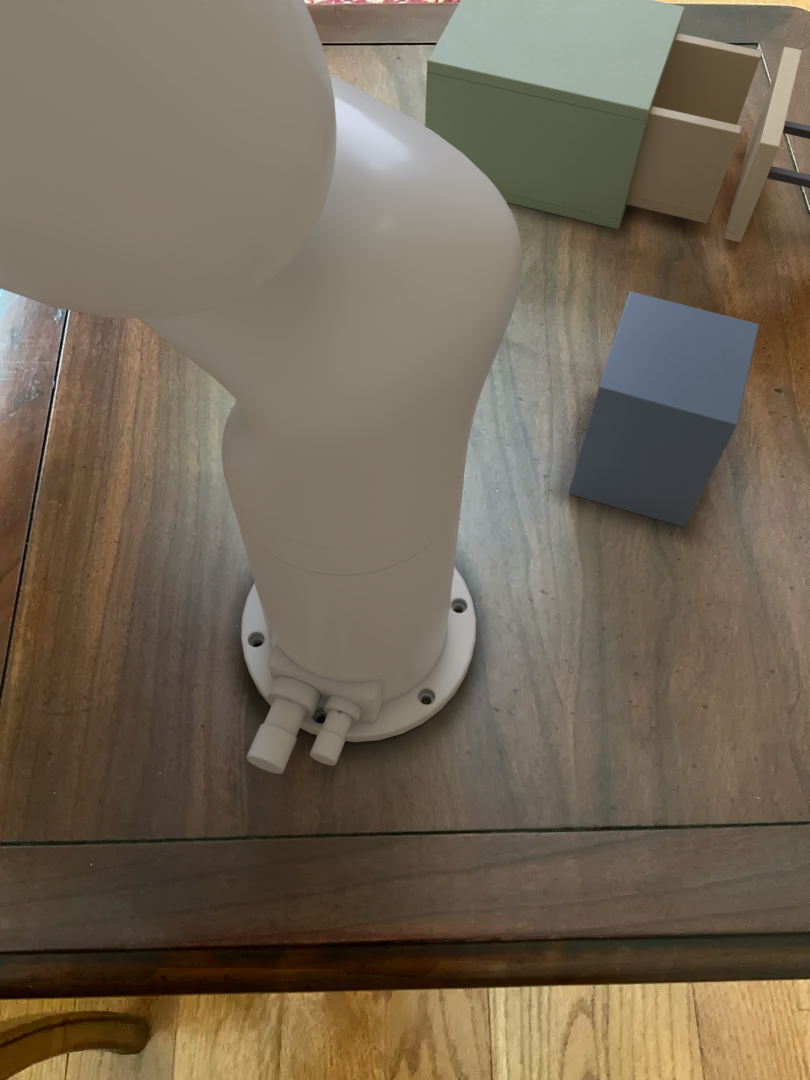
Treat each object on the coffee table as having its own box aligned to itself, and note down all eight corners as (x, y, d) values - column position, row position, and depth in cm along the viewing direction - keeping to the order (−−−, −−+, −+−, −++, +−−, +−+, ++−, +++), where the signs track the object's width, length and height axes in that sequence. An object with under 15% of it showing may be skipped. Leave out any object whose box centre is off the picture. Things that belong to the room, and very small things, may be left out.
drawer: (844, 166, 70) (892, 68, 64) (827, 264, 66) (876, 168, 59) (586, 108, 74) (605, 8, 67) (550, 196, 69) (567, 99, 62)
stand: (684, 527, 56) (737, 425, 48) (567, 493, 57) (598, 387, 49) (706, 435, 59) (759, 323, 51) (595, 405, 61) (629, 290, 52)
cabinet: (652, 128, 74) (685, 6, 65) (618, 230, 68) (649, 110, 60) (470, 87, 76) (479, -36, 68) (423, 182, 71) (426, 60, 62)
